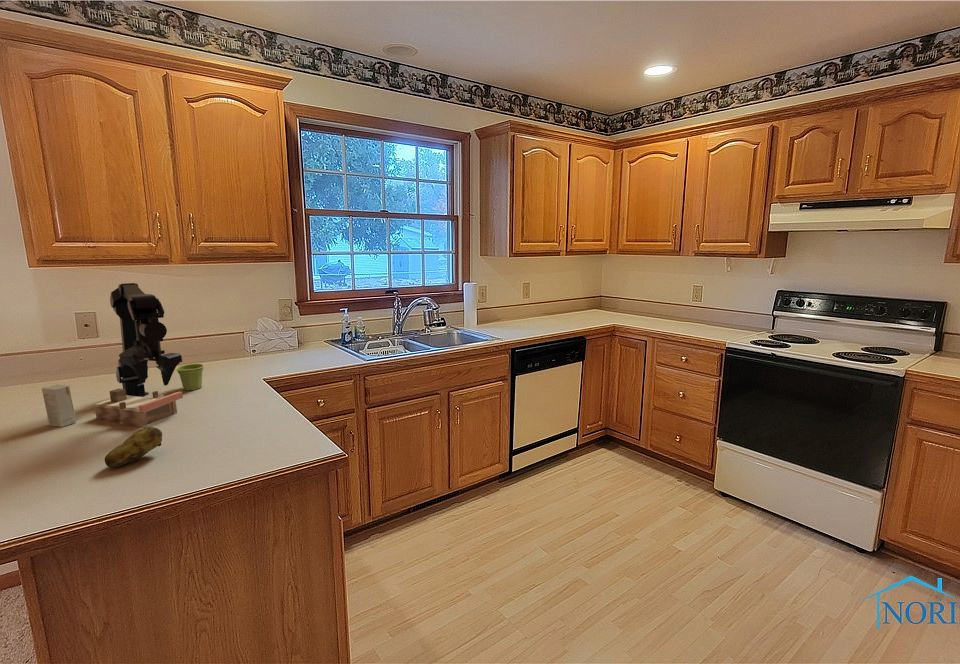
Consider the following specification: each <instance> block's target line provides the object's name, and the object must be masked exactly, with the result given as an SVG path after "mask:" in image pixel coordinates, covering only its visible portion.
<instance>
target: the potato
mask: <svg viewBox="0 0 960 664" xmlns="http://www.w3.org/2000/svg"><path fill="white" fill-rule="evenodd" d="M162 442H163V432H162V431H161V429H159V428H157V427H154V426H153V427H152V426H144V427H141V428H139V429H138V430H136V431H135V432H134V433H132V434H131V435H130V436H128V437H127V438H126V439H125V440H124V441H123V442H122V443H121V444H120V445H118V446H116V447H114V448H113V449H112V450H110V451H109V452H108V453H107V454H106V455H105V456H104V463H105V466H107V467H109V468H119V467H122V466H124V465H127V464H129V463H132V462H135V461H137V460H138V459H141V458H142V457H143V456H145V455H147V454H148V453H149V452H151V451H152V450H154V449H156V448H157V447H160V446H161V447H162Z"/></svg>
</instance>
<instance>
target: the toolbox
mask: <svg viewBox="0 0 960 664" xmlns="http://www.w3.org/2000/svg"><path fill="white" fill-rule="evenodd" d="M151 394H152V398H155V399H159V398H162V397H163V396H162V397H161V396H159V391H158V390H154V391H152V392H151ZM119 405H120V409H119V410H118V409H110V408H102V407H96V406H95V407H94V411H95V417H96V420H102V421H108V422H109V421H110V422H115V423H117V422H118V423H120V425H124V426H125V425H127V426H133V427H140V428H144V427H147V425H148V424H152V423H154V422H156V421H159V420H162V419H165V418H167V417H169V416H172V415H176V414H178V409H177V400H175V401H173V402H170V403H169V404H166V405H163V406H161V407H158V408H155V409H152V410H150V411H147V412H139V410H137V409H129V408H126V403H125V402H121V403H119Z"/></svg>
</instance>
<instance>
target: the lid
mask: <svg viewBox="0 0 960 664" xmlns="http://www.w3.org/2000/svg"><path fill="white" fill-rule="evenodd" d="M109 397H110V399H107V400H103V401H101V402H97V403H96V404H95V405H96V406H95V407H102V408H110V409H118V410H119V409H120V405H119V403H121V402H125V403H126V408H129V409H137V410H139V405H142V404H145V403H147V402H150V401H153V400H156V399H155V398H153V397H146V396H145V397H144V396H140V397H137V396H128V395H126V389H123V388H120V387H119V388H116V389H111V390H109ZM167 404H169V403H167ZM164 405H166V404H164ZM162 406H163V405H162ZM159 407H161V406H159ZM156 408H158V407H156ZM154 409H155V408H154ZM151 410H152V409H151ZM148 411H150V410H148ZM145 412H147V411H145Z"/></svg>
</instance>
